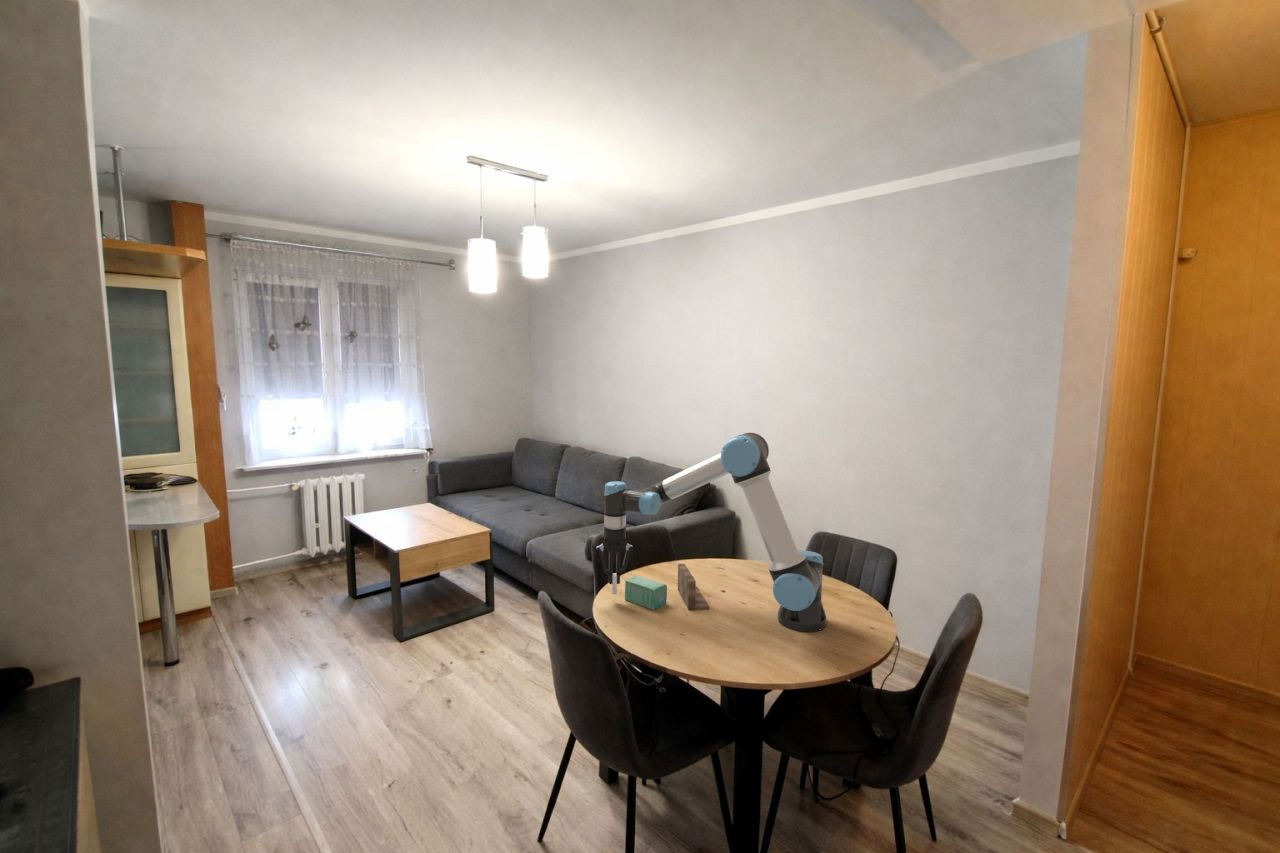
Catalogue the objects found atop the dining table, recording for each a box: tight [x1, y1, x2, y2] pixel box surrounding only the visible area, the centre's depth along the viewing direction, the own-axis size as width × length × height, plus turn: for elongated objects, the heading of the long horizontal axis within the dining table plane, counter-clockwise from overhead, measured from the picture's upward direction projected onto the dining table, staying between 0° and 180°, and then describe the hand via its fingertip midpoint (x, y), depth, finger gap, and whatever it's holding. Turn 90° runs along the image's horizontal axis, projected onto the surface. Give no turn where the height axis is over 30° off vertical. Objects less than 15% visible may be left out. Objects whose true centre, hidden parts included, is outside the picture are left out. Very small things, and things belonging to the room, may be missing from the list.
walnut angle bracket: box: [677, 563, 710, 611], centre depth 196 cm, size 18×7×10 cm, turn 8°
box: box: [624, 575, 668, 611], centre depth 194 cm, size 7×14×8 cm, turn 50°
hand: (614, 592), depth 193 cm, fingers closed
